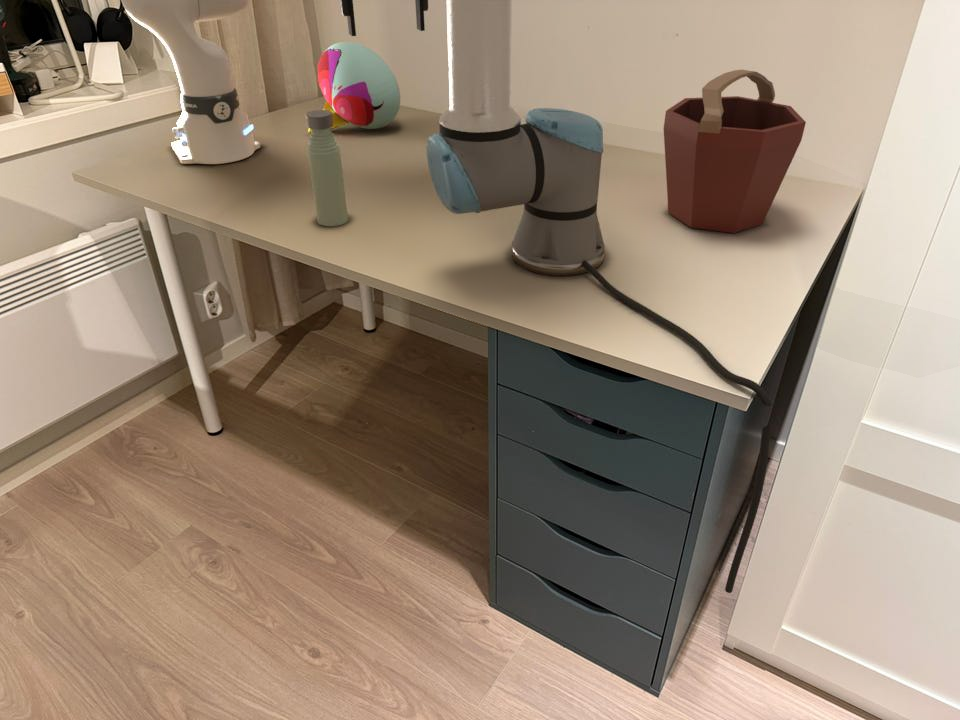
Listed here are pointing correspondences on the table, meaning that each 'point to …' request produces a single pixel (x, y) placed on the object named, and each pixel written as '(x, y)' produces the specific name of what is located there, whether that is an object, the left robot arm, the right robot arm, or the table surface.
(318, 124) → the cap
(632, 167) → the table surface
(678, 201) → the bucket
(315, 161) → the bottle
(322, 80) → the toy
